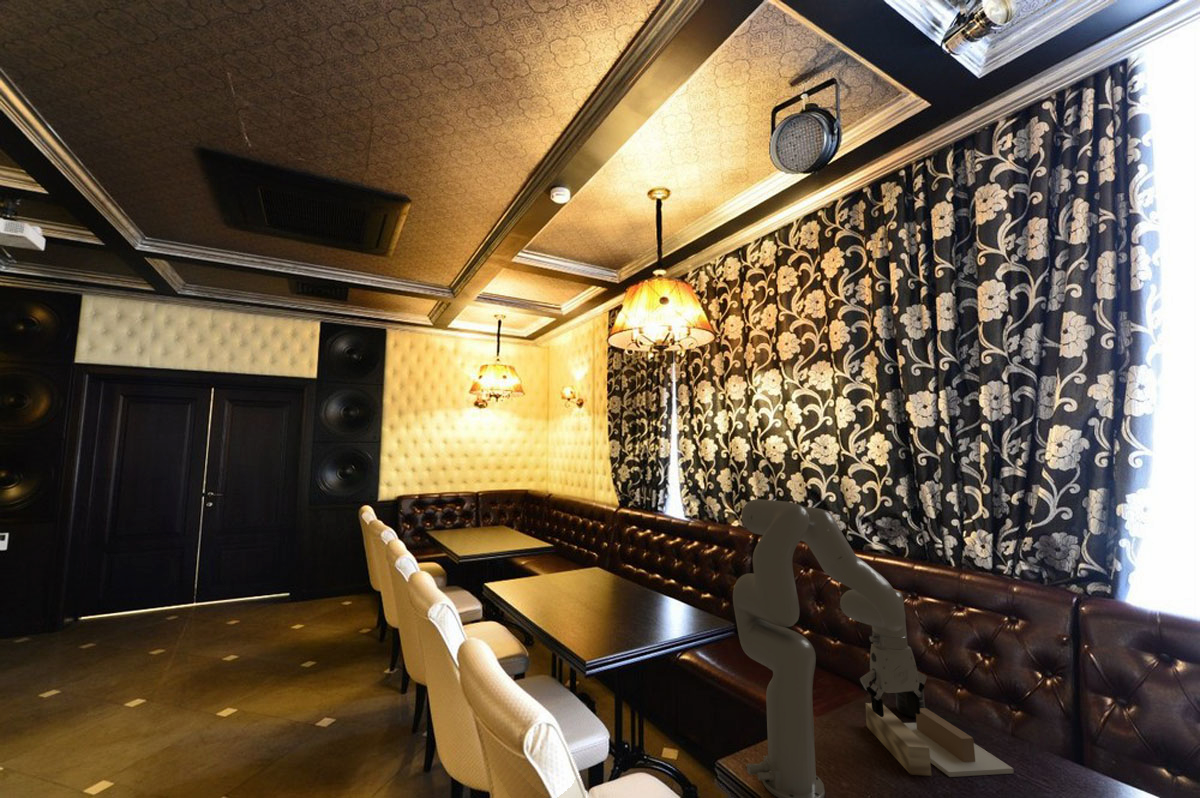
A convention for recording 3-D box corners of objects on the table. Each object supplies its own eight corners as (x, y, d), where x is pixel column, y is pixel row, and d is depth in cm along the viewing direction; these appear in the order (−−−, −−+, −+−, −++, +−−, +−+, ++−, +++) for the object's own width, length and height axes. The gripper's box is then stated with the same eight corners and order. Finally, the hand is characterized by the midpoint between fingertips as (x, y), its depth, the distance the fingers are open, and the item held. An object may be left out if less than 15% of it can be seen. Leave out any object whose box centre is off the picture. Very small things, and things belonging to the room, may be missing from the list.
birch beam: (931, 777, 105) (929, 747, 106) (910, 775, 105) (908, 746, 106) (884, 728, 125) (882, 703, 126) (866, 727, 125) (865, 702, 126)
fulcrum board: (949, 776, 105) (946, 747, 106) (885, 728, 124) (884, 703, 125) (1013, 773, 106) (1010, 744, 107) (941, 725, 126) (939, 701, 127)
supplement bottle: (929, 721, 128) (925, 674, 130) (900, 716, 130) (897, 670, 132) (921, 709, 135) (917, 664, 137) (893, 704, 137) (890, 661, 139)
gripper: (868, 647, 114) (874, 723, 112) (933, 643, 116) (940, 718, 114) (848, 636, 122) (854, 707, 119) (910, 633, 124) (916, 702, 121)
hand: (896, 712), depth 117 cm, fingers open, 9 cm apart
